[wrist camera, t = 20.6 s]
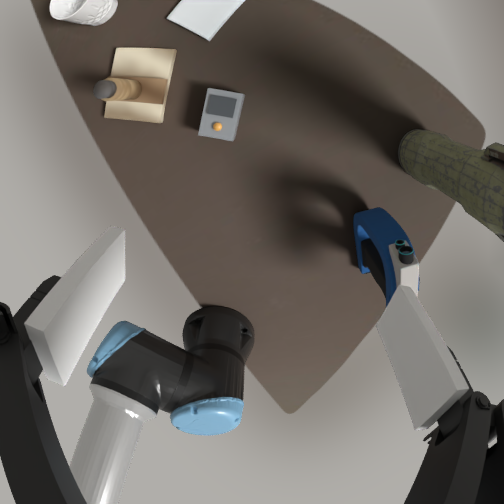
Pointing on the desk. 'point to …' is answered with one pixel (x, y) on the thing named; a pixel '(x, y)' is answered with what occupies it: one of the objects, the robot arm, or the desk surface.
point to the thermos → (458, 173)
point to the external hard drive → (203, 15)
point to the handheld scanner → (385, 251)
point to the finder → (221, 114)
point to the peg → (117, 89)
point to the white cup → (83, 11)
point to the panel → (142, 83)
